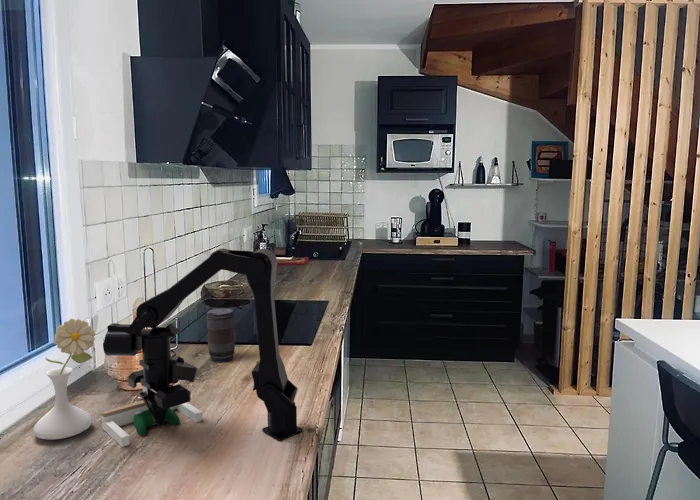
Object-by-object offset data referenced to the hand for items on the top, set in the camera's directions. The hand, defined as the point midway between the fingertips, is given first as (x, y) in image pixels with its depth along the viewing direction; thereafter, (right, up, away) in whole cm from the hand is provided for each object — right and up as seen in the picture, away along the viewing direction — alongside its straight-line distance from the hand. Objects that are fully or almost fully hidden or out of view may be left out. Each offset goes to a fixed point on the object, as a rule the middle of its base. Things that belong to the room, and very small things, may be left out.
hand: (160, 424), depth 118 cm
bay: (-2, -1, +2) cm, 3 cm away
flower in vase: (-20, -2, 0) cm, 20 cm away
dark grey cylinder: (+2, +5, +47) cm, 48 cm away
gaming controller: (-2, -1, +2) cm, 3 cm away
